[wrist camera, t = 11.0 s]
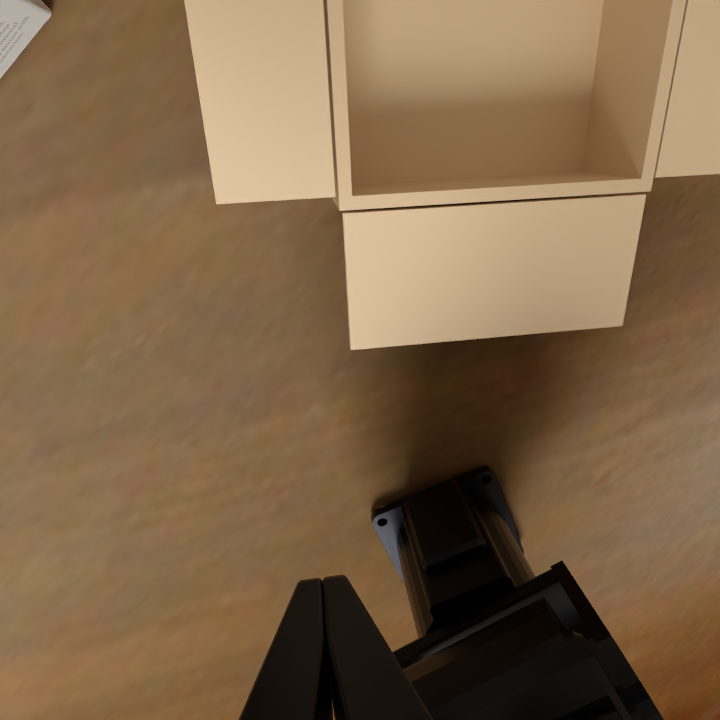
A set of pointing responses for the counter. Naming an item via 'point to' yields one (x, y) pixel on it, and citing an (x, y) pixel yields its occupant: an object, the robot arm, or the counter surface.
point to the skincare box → (19, 27)
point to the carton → (464, 144)
